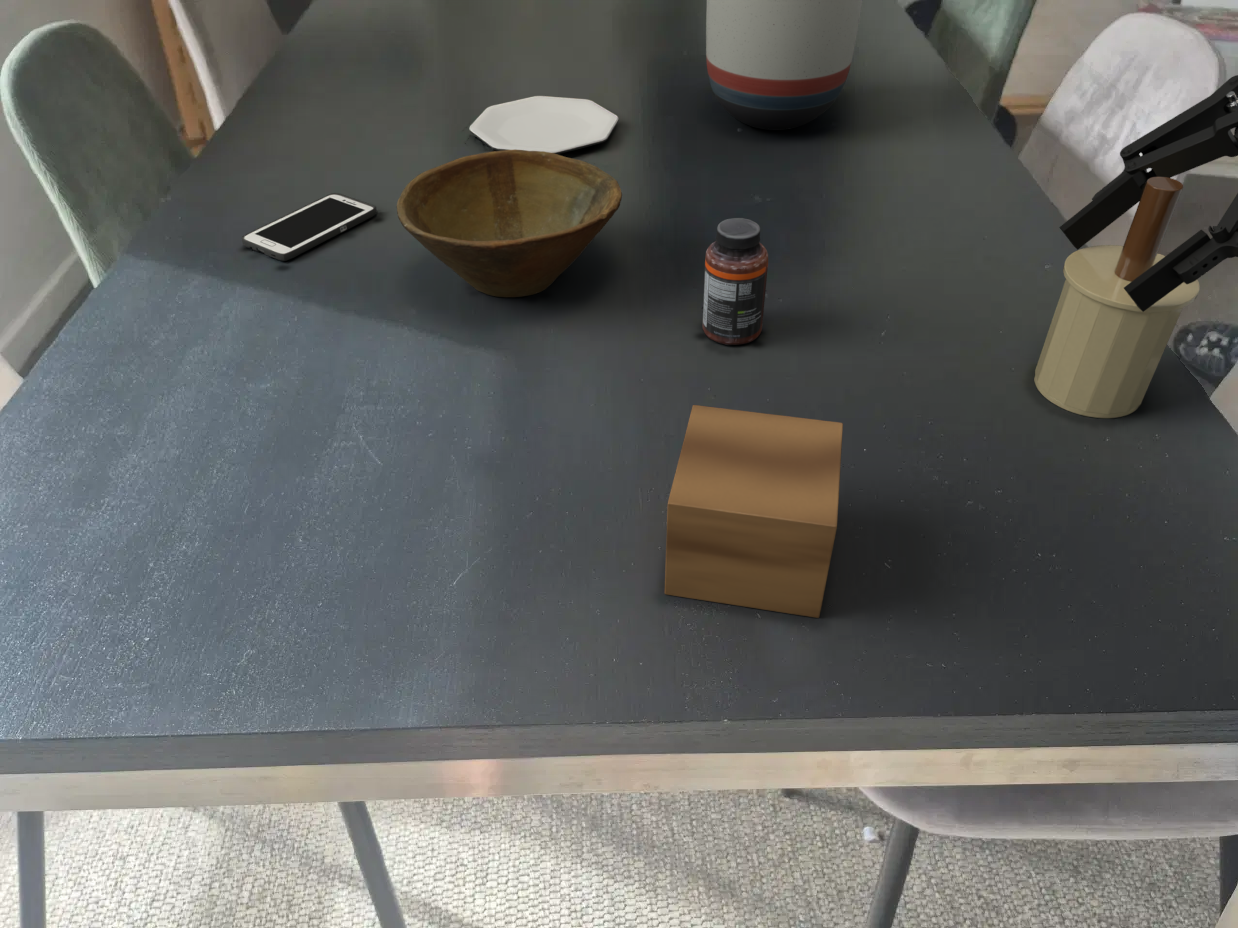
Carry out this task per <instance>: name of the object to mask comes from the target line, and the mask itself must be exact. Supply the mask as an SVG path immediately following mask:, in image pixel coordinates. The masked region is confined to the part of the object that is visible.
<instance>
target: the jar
mask: <svg viewBox="0 0 1238 928" xmlns="http://www.w3.org/2000/svg"><path fill="white" fill-rule="evenodd" d="M1183 309H1184V308H1181V309H1178V310H1173V311H1167V312H1139V311H1132V310H1125V309H1121V308H1117V307H1113V306H1110V305H1106V304H1104V303H1101V302H1098V301H1096V300H1093V299H1091V298H1089V297H1087V296H1085V295H1084V294H1082V293H1080V292H1079V291H1077V290H1076V289H1075V288H1074V287H1072V286H1071V285H1070V284H1069V282H1068V281H1067V280H1066V279H1065V280H1064V283H1063V286H1062V289H1061V293H1060V296H1059V298H1058V302H1057V305H1056V308H1055V310H1054V314H1053V316H1052V319H1051V322H1050V325H1049V329H1048V331H1047V334H1046V337H1045V340H1044V343H1043V346H1042V349H1041V352H1040V355H1039V358H1038V360H1037V364H1036V367H1035V370H1034V377H1033V378H1034V384H1035V387H1036V388H1037V390H1038V392H1039V393H1040V394H1041V395H1042V396H1043V397H1044V398H1045V399H1046V400H1047V401H1049V402H1051V403H1052V404H1053V405H1055V406H1057V407H1059V408H1061V409H1063V410H1065V411H1067V412H1071V413H1073V414H1077V415H1079V416H1084V417H1087V418H1096V419H1097V418H1098V419H1116V418H1121V417H1125V416H1129V415H1130V414H1132V413H1134V412H1135V411H1137V410H1138V409H1139V408H1140V406H1141V405H1142V403H1143V401H1144V398H1145V395H1146V393H1147V391H1148V389H1149V387H1150V384H1151V382H1152V380H1153V377H1154V375H1155V373H1156V370H1157V369H1158V366H1159V364H1160V361H1161V359H1162V358H1163V357H1162V356H1163V355H1164V352H1165V350H1166V347H1167V345H1168V343H1169V342H1170V341H1169V340H1170V338H1171V336H1172V334H1173V331H1174V329H1175V327H1176V324H1178V323H1177V322H1178V320H1179V317H1180V316H1181V314H1182V311H1183Z"/></svg>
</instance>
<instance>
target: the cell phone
mask: <svg viewBox="0 0 1238 928" xmlns="http://www.w3.org/2000/svg"><path fill="white" fill-rule="evenodd" d="M377 214H378V212H377V207H376V206H375V205H373V204H371V203H368V202H365V201H364V200H360V199H358V198H357V199H356V198H354V197H352V196H348V195H347V194H342V193H339V192H331V193H329V194H326V195H325V196H322V197H320V198H318V199H316V200H314V201H312V202H310V203H307V204H305V205H304V206H301V207H299V208H297V209H295V210H293V211H291V212H288V213H287V214H285V215H283V216H281V217H279V218H276V219H275V220H272V221H270V222H267V223H266V224H264V225H261V226H259V227H258V228H256V229H254V230H251V231H249V232H247V233H245V234H244V235H242V236H241V242H242V245H243V246H245V247H246V248H247V249H252V250H254V251H256V252H261V253H263V254H264V255H265V256H268V257H271V258H274V259H276V260H279V261H282V262H286V261H289V260H291V259H294V258H296V257H298V256H299V255H302V254H304V253H306V252H307V251H309V250H311V249H313V248H315V247H317V246H319V245H320V244H322V243H325V242H326V241H329V240H331V239H333V238H334V237H336V236H338V235H340V234H342V233H344V232H346V231H348V230H350V229H352V228H353V227H355V226H357V225H359V224H361V223H363V222H366V221H367V220H369V219H371V218H373V217H374V216H376V215H377Z"/></svg>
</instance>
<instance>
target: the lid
mask: <svg viewBox="0 0 1238 928" xmlns="http://www.w3.org/2000/svg"><path fill="white" fill-rule="evenodd" d="M1183 189H1184V183H1182V182H1180V181H1179V180H1177V179H1175V178H1173V177H1171V178H1167V177H1152V178H1149V179H1148V180H1147V182H1146V185H1145V188H1144V191H1143V193H1142V196H1141V199H1140V201H1139V202H1138V203H1137V207H1136V210H1135V212H1134V216H1133V218H1132V221H1131V224H1130V227H1129V229H1128V231H1127V234H1126V237H1125V240H1124V243H1123V245H1118V244H1101V245H1092V246H1091V245H1090V246H1086V247H1083V248H1082V247H1081V248H1079V249H1078V250H1077V249H1076V250H1075V251H1074V252H1071V253H1070V255H1068V256H1067V258H1065V261H1064V264H1063V267H1062V272H1063V276H1064V278H1065V280H1067V281H1068V282H1069V284H1070V285H1071V286H1072V287H1074V288H1075V289H1076V290H1077V291H1079V292H1080V293H1082V294H1084V295H1085V296H1087V297H1089V298H1091V299H1093V300H1096V301H1098V302H1101V303H1104V304H1106V305H1110V306H1113V307H1117V308H1121V309H1125V310H1132V311H1139V312H1143V311H1141V310H1140V309H1139V308H1138V307H1137V305H1136V304H1135V303H1134V301H1133V300H1132V299H1131V297H1130V296H1129V295H1128V293H1127V292H1126V291H1125V289H1124V287H1125V286H1127V285H1128V284H1129V283H1131V282H1132V281H1133V280H1135V279H1136V278H1137V277H1139V276H1140V275H1141V274H1143V273H1144V272H1145V271H1147V270H1148V269H1149V268H1151V267H1152V266H1153V265H1155V264H1156V263H1157V262H1159V261H1160V260H1161V259H1163V258H1164V257H1165V256H1166V255H1165V254H1161V253H1159V251H1160V248H1161V245H1162V243H1163V240H1164V238H1165V235H1166V233H1167V230H1168V229H1169V225H1170V223H1171V220H1172V218H1173V215H1174V213H1175V210H1176V208H1177V205H1178V203H1179V199H1180V197H1181V195H1182V192H1183ZM1198 279H1199V278H1198ZM1198 279H1197V280H1196V281H1194V282H1192V283H1189V284H1185V283H1184V282H1183V283H1182V284H1181V285H1179V286H1178V287H1177V288H1175V289H1174V290H1172V291H1171V292H1170V293H1168V294H1167V295H1166V296H1164V297H1163V298H1162V299H1160V300H1159V301H1157V302H1156V303H1155V304H1153V305H1152V306H1151V307H1149V308H1148V309H1147V310H1145V311H1144V312H1167V311H1173V310H1178V309H1181V308H1183V309H1184V308H1186V307H1188V306H1189V305H1191V304H1192V303H1193V302H1195V300H1196V299H1197V297H1198V295H1199V293H1200V289H1201V288H1200V282H1199V280H1198Z"/></svg>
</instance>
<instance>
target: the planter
mask: <svg viewBox="0 0 1238 928" xmlns="http://www.w3.org/2000/svg"><path fill="white" fill-rule="evenodd" d="M863 1H864V0H706V10H705V11H706V14H705V15H706V17H705V18H706V19H705V47H706V48H705V56H706V57H705V58H706V59H705V60H706V69H707V77H708V79H709V84H710V87H711V91H712V93H713V95H714V97H715V99H716V100H717V102H718V103H719V104H720V106H721V107H722V108H723V109H724V110H725V111H726V112H727V113H728V114H729V115H730V116H732V117H733V118H734V119H735V120H737V121H739V122H740V123H742V124H744V125H747V126H750V127H752V128H756V129H760V130H767V131H784V130H792V129H794V128H798V127H803V126H804V125H806V124H809V123H810V122H812V121H814V120H816V119H817V118H819V117H820V116H821V115H823V114H824V113H825V112H826V111H827V110H829V109H830V108H831V106H832V105H834V103H835V101H836V100H837V99H838V98H839V96H840V94H841V92H842V90H843V88H844V85H845V84H846V81H847V78H848V77H849V72H850V69H851V65H852V61H853V57H854V53H855V52H854V51H855V46H856V42H857V36H858V30H859V25H860V19H861V13H862V7H863Z"/></svg>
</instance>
